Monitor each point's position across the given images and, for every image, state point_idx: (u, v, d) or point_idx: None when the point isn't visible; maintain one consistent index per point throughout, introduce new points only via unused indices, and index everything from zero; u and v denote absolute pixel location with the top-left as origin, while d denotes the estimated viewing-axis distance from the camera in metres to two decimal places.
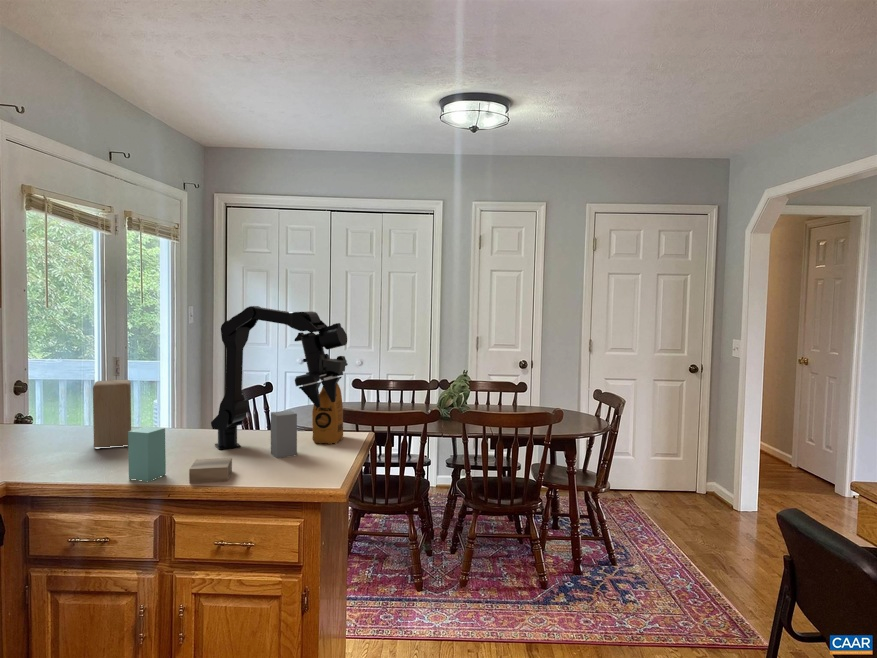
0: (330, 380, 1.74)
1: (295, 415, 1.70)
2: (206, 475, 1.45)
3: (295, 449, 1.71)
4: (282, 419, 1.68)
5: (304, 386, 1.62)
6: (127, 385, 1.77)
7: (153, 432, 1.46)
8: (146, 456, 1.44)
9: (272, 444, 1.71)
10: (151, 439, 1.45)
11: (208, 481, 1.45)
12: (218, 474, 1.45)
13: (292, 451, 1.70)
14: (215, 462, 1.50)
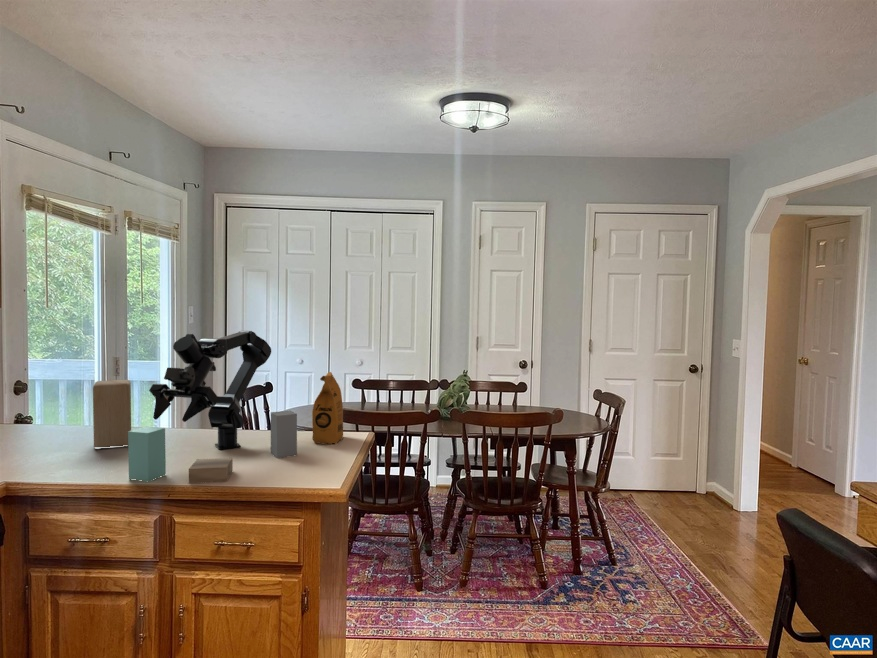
0: None
1: (295, 415, 1.70)
2: (205, 475, 1.45)
3: (295, 449, 1.71)
4: (282, 419, 1.68)
5: None
6: (127, 385, 1.77)
7: (153, 432, 1.46)
8: (146, 456, 1.44)
9: (272, 444, 1.71)
10: (151, 439, 1.45)
11: (207, 481, 1.45)
12: (217, 475, 1.45)
13: (292, 451, 1.70)
14: (215, 462, 1.50)
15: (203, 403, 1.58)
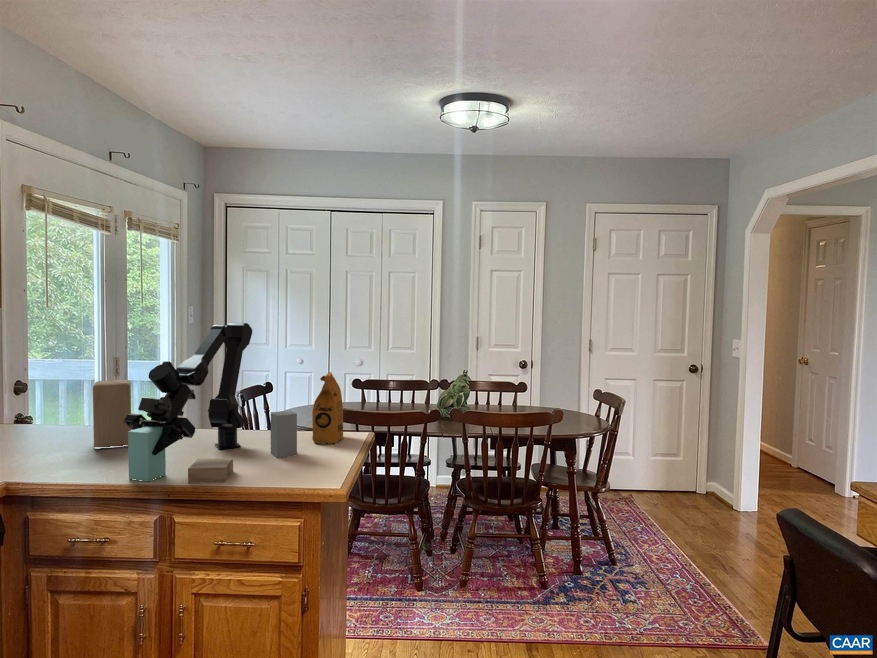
0: None
1: (295, 415, 1.70)
2: (204, 475, 1.45)
3: (295, 449, 1.71)
4: (282, 419, 1.68)
5: None
6: (127, 385, 1.77)
7: (153, 432, 1.46)
8: (146, 456, 1.44)
9: (272, 444, 1.71)
10: (151, 439, 1.45)
11: (206, 481, 1.45)
12: (216, 475, 1.45)
13: (292, 451, 1.70)
14: (215, 462, 1.50)
15: (175, 435, 1.50)
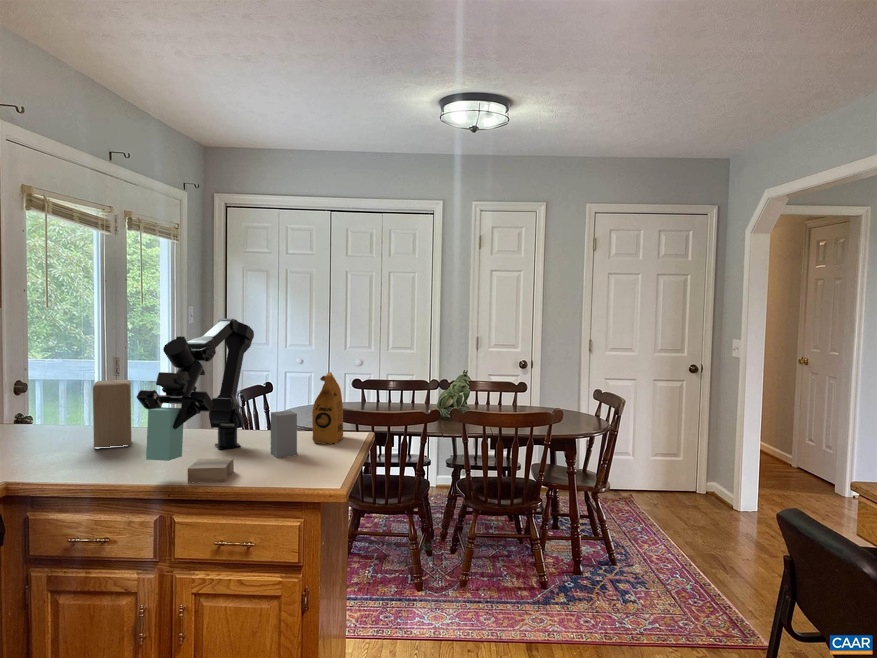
0: None
1: (295, 415, 1.70)
2: (204, 475, 1.45)
3: (295, 449, 1.71)
4: (282, 419, 1.68)
5: None
6: (127, 385, 1.77)
7: (174, 410, 1.46)
8: (168, 434, 1.44)
9: (272, 444, 1.71)
10: (173, 417, 1.45)
11: (206, 481, 1.45)
12: (216, 475, 1.45)
13: (292, 451, 1.70)
14: (215, 462, 1.50)
15: (194, 409, 1.50)
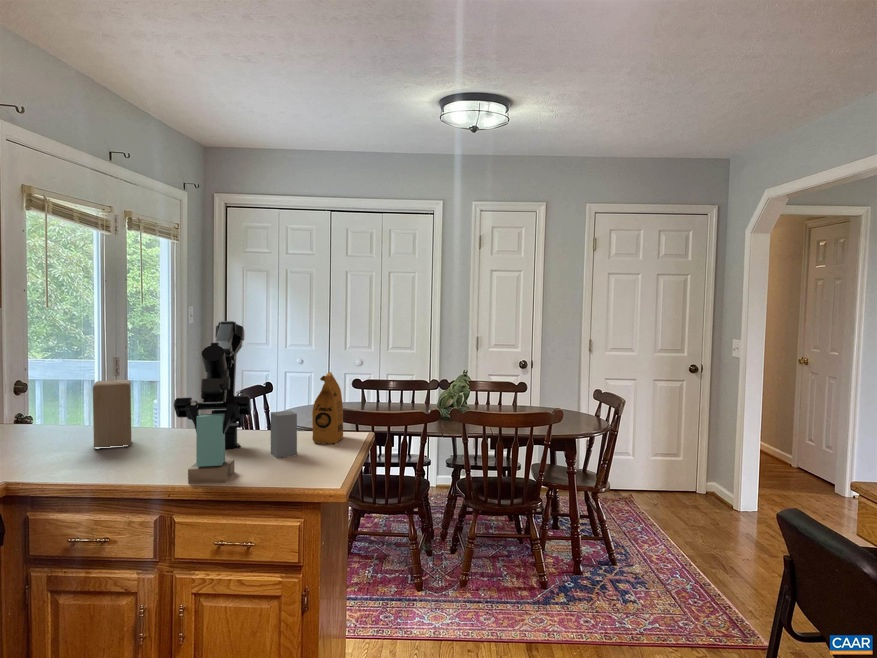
0: None
1: (295, 415, 1.70)
2: (204, 476, 1.44)
3: (295, 449, 1.71)
4: (282, 419, 1.68)
5: None
6: (127, 385, 1.77)
7: (222, 415, 1.48)
8: (220, 439, 1.46)
9: (272, 444, 1.71)
10: (222, 422, 1.47)
11: (206, 482, 1.44)
12: (216, 476, 1.45)
13: (292, 451, 1.70)
14: None
15: (235, 413, 1.53)
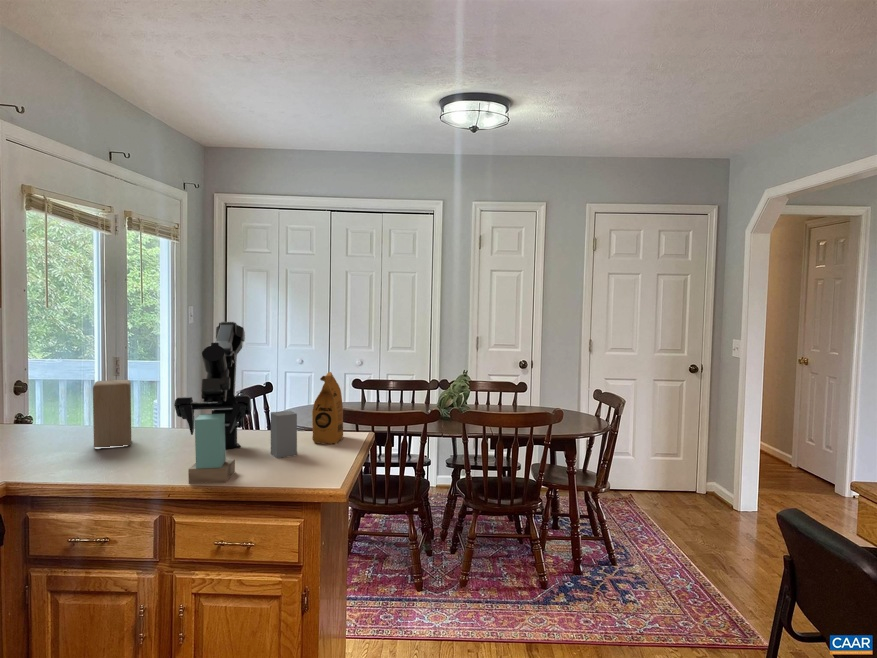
0: None
1: (295, 415, 1.70)
2: (205, 476, 1.44)
3: (295, 449, 1.71)
4: (282, 419, 1.68)
5: None
6: (127, 385, 1.77)
7: (221, 418, 1.46)
8: (218, 442, 1.45)
9: (272, 444, 1.71)
10: (221, 425, 1.46)
11: (207, 482, 1.44)
12: (216, 476, 1.45)
13: (292, 451, 1.70)
14: None
15: (241, 413, 1.54)
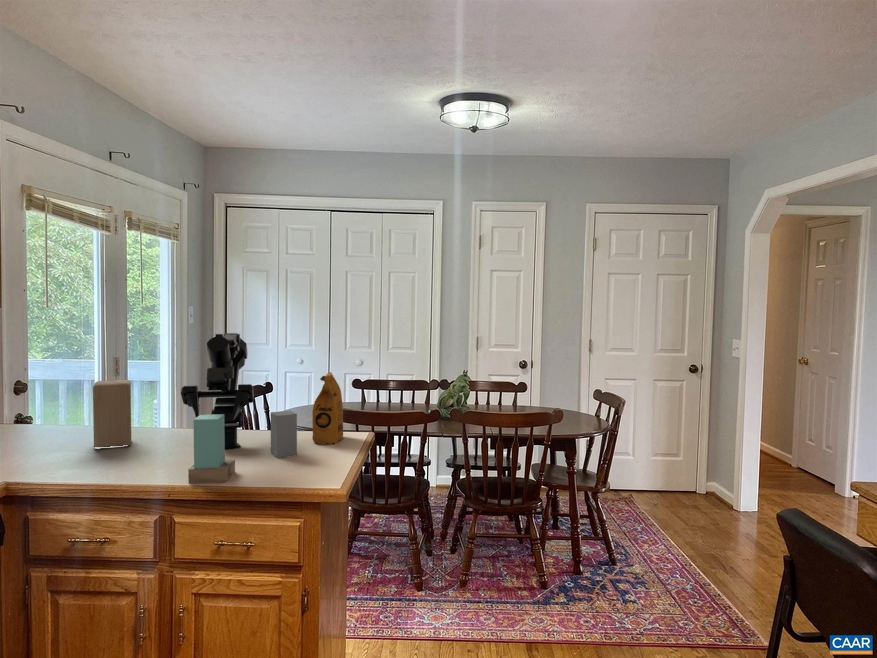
0: None
1: (295, 415, 1.70)
2: (205, 476, 1.44)
3: (295, 449, 1.71)
4: (282, 419, 1.68)
5: None
6: (127, 385, 1.77)
7: (220, 418, 1.46)
8: (217, 442, 1.45)
9: (272, 444, 1.71)
10: (219, 425, 1.46)
11: (207, 482, 1.44)
12: (216, 476, 1.45)
13: (292, 451, 1.70)
14: None
15: (244, 401, 1.62)
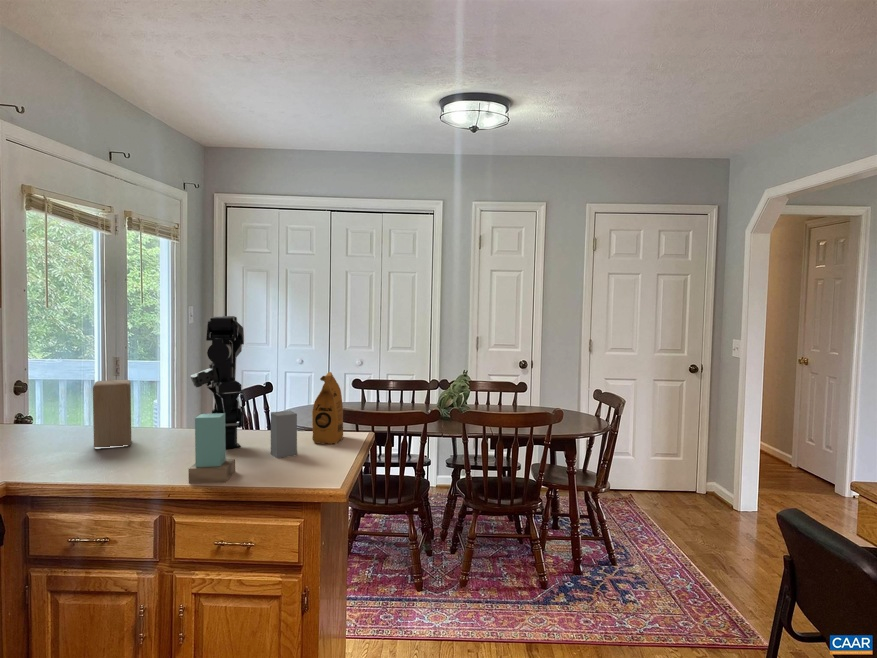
0: None
1: (295, 415, 1.70)
2: (205, 475, 1.44)
3: (295, 449, 1.71)
4: (282, 419, 1.68)
5: None
6: (127, 385, 1.77)
7: (221, 417, 1.47)
8: (218, 440, 1.46)
9: (272, 444, 1.71)
10: (221, 423, 1.47)
11: (207, 481, 1.45)
12: (216, 475, 1.45)
13: (292, 451, 1.70)
14: None
15: None
